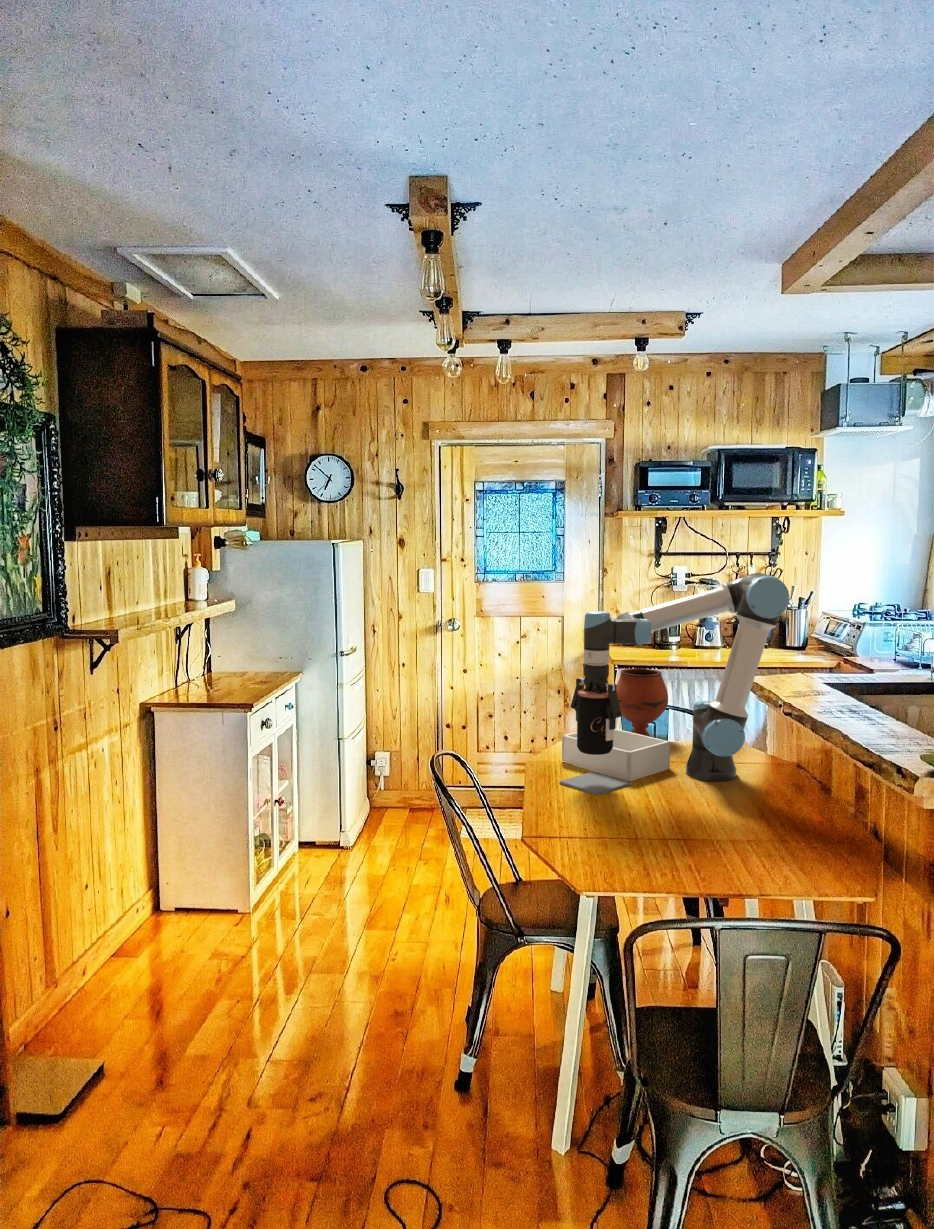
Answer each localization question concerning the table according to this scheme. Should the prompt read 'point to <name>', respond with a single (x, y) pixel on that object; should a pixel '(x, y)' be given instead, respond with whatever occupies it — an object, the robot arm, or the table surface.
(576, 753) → the crate
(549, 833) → the table surface
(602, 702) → the coffee jar
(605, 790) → the mat
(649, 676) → the goblet
